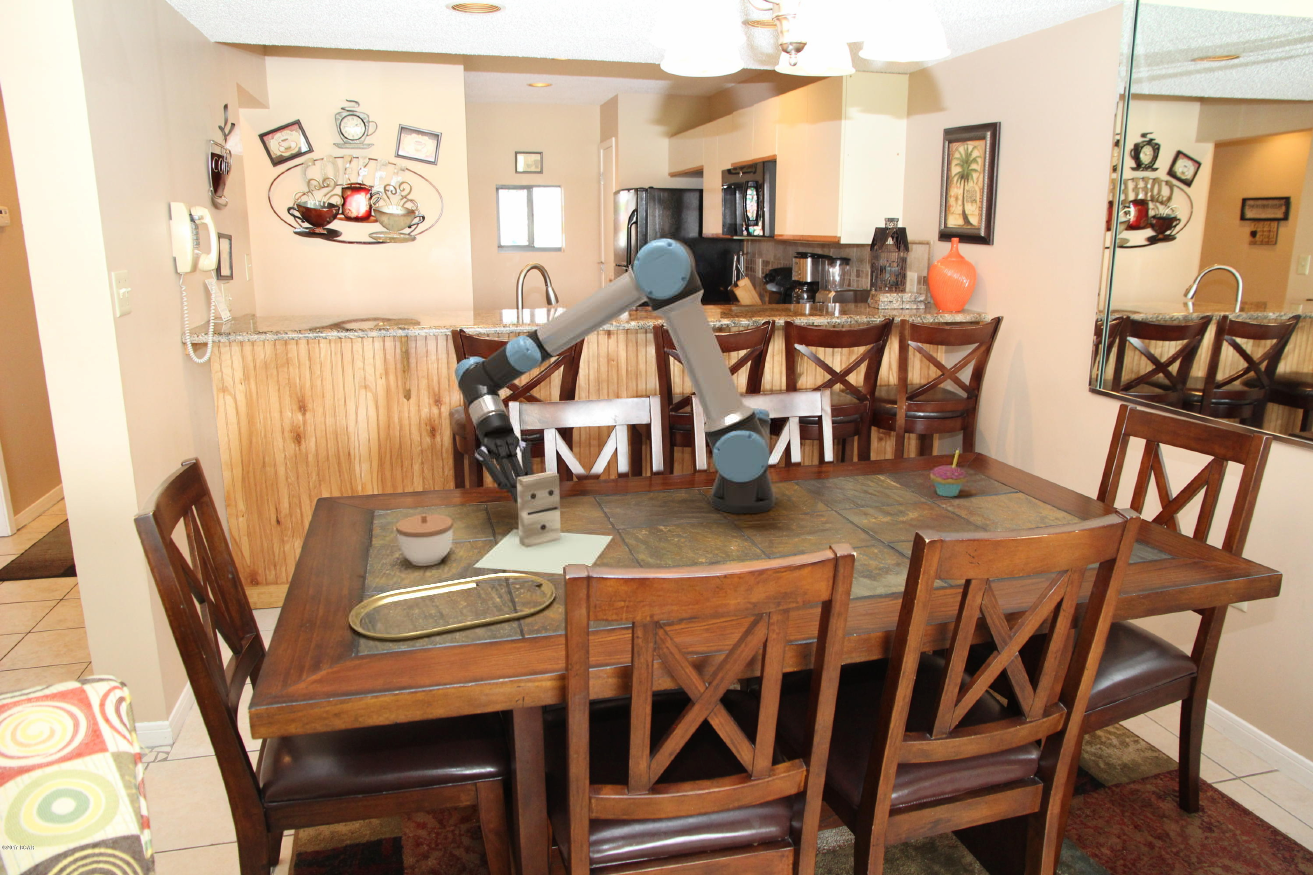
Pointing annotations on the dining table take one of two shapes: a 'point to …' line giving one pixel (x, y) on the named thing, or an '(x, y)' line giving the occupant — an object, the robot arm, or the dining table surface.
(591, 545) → the mat
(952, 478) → the cupcake
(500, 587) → the dining table surface
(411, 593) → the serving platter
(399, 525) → the lidded jar
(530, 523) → the domino
